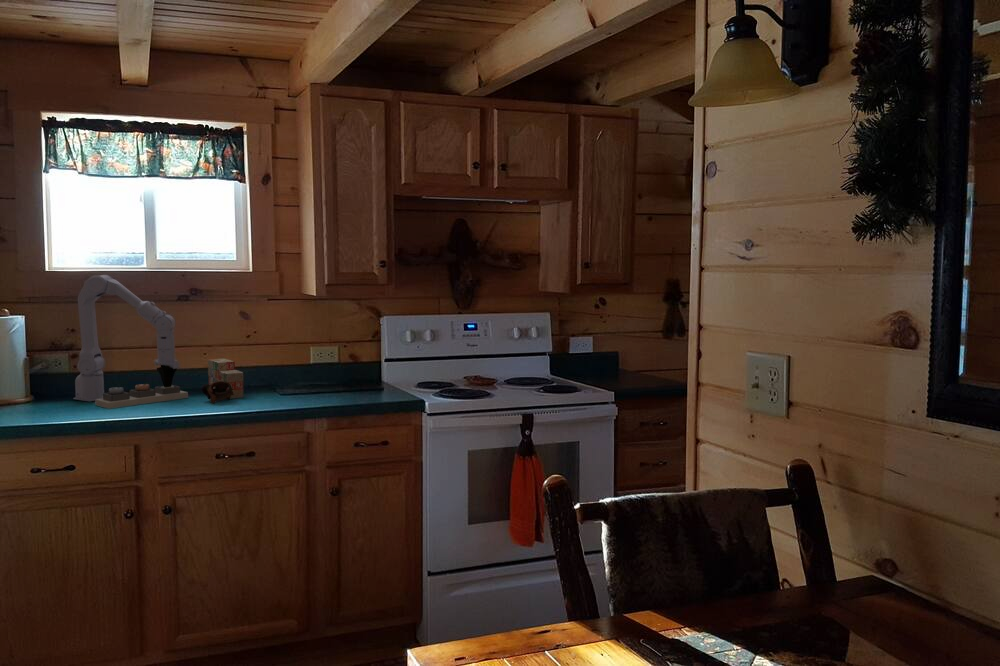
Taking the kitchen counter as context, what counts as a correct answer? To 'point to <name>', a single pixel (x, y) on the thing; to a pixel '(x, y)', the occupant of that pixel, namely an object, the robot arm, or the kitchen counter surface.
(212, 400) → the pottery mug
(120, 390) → the two pip button
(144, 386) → the three pip button
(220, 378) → the stack of blocks
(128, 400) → the button panel
